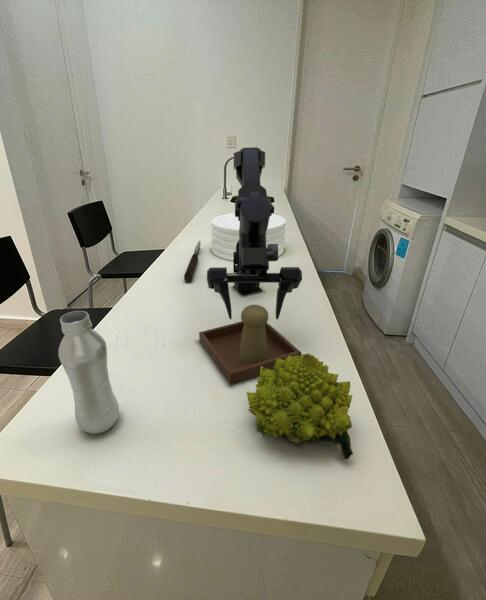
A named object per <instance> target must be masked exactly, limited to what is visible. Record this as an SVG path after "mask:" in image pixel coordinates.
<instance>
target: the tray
mask: <svg viewBox="0 0 486 600" xmlns="http://www.w3.org/2000/svg"><path fill="white" fill-rule="evenodd" d="M243 326H244V323H243V322H242V320H241V321H238V322H233V323H230V324H226V325H221V326H218V327H214V328H210V329H206V330H203V331H199V332H198V338H199V343H200V345H201V346H202V347H203V349H204V350H205V352H206V353H207V355H208V356H209V358H210V359H211V360H212V362H213V363H214V364H215V366H216V367H217V369H218V370H219V372H220V373H221V374H222V375H223V377H224V378H225V380H226V381H227V382H228V384H229V386H232V385H235V384H238V383H241V382H244V381H248V380H251V379H254V378H258V377H260V368H261V366H262V367H264V368H265V369H269V370H274V366H275V362H276V358H278V359H282V360H284V361H285V358H287V357H288V356H289V355H290V356H292V357H293V355H294V356H296V355H297V356H301V355H302V351H301V350H299V349H298V347H296V346H295V345H294V344H292V343H291V342H290V341H289V340H288V339H287V338H286V337H284V336H283V334H281V333H280V332H279V331H278V330H276V328H274V326H272V325H271V324H270V323H268V322H267V323H266V324H265V330H266V340H267V350H268V359H267V360H265V361H262V362H258V363H255V364H248V363H245V362H243V361H242V360H241V359H240V358H239V349H240V343H241V337H242V331H243Z"/></svg>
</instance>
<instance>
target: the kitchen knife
mask: <svg viewBox="0 0 486 600" xmlns="http://www.w3.org/2000/svg"><path fill="white" fill-rule="evenodd" d="M200 250H201V240H199V241H198V242H197V243H196V245H195V247H194V251H193V252H194V253H193V254H192V256H191V258H190V261H189V263H188V265H187V267H186V269H185V272H184V274H183V275H184V276H183V277H184V278H183V279H184V281H185V283H191V282H192V279H193V276H194V273H195V270H196V267H197V264H198V261H199V257H198V256H199V253H200Z"/></svg>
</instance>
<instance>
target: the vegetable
mask: <svg viewBox="0 0 486 600" xmlns="http://www.w3.org/2000/svg"><path fill="white" fill-rule="evenodd" d="M324 363H325V361H320V360H319V358H317V357H316V356H314V355H313V354H311V353H301V356H297V355H296V356H294V355H293V357H292V356H290V355H289V356H288V357H287V358H285V361H284V360H282V359H278V358H276V362H275V366H274V370H269V369H265V368H264V367H262V366H261V368H260V376H258V377H257V379H258V380H257V381H256V384H255V385H254V386H255V387H256V389H255V392H250V391H246V397H247V402H248V405H249V407H248V409H247V411H249V412H250V413H251V414H252V415H253V416H254V417H255V423H256V432H258V433H260V434H261V435H262V436H263V437H264V436H268V435H271V436H272V437H275V438H276V439H278V437H279V436H280V437H284V438H287V439H288V441H289V442H294V443H295V444H300V443H301V442H302V441H303V442H304V441H308V440H309V441H311V440H314V441H317V443H321V442H326V443H329V444H331V445H336V446H338V445H339V447H340V451H341V455H342V458H343V460H346V461H347V460H348V461H349V459H350V457H351V456H353V455H354V452H353V450H352V444H351V443H352V442H351V437H350V435H349V432H348V430H349V429H350V428H351V429H352V427H353V423H352V420H351V416H350V415H349V414H348V412H349V409H350V408H351V402H352V399H353V394H349V393H350V391H351V381H340V382H339V381H338V378H339V374H337V373H331V372H329V366H328V364H325V365H324Z"/></svg>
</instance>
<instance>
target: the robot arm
mask: <svg viewBox="0 0 486 600" xmlns="http://www.w3.org/2000/svg"><path fill="white" fill-rule="evenodd" d="M265 167H266V152H265V151H264V150H262V149H261V148H260V147H257V146H253V147H250V146H249V147H242V148H240V149H239V150H238V151H236V152H233V171H234V170H235V178H236V180H237V182H238V183H239V185H240V186H241V187H240V188H239V189H238V190H237V199H235V200H234V213H235V217H238V220H239V221H240V227H239V241H238V242H237V244H236V252H233V260H232V262H233V264H232V265H233V268H232V269H233V271H232V272H228V271H227V270H228V269H227V267H209V268H208V269H207V271H206V282H207V287H208V289H210V290H214V293H218V294H219V295H220V296H221V297H220V298H221V299H222V301H223V303H224V306H225V309H226V312H227V316H228V318H229V320H232V318H233V316H232V315H233V314H232V311H233V310H232V302H231V296H230V287H229V283H231V284H232V283H233V286H232V288H233V289H234V290H236V291H237V292H238V293H239V294H240V295H241V296H246V295H247V296H248V295H252V294H256V293H260V292H263V288H261V287H260V283H261V284H263V283H274V284H275V283H276V284H277V286H278V287H277V290H276V299H275V300H276V301H275V320H279V318H280V315H281V311H282V307H283V304H284V301H285V298H286V295H287V294H288V293H292V292H293V290H295V289H298V288H299V287H300V284H301V282H302V280H303V271H302V269H301V268H300V267H298V266H281V267H280V268H279V272H268V271H269V269H270V262H277V261H279V256H278V244H268V246H267V248H266V231H267V228H268V223H269V218H270V216H271V215H272V214H275V206H274V205H273V203H272V202H271V199H270V198H268V193H267V189H266V188H265V187H264V186H263V185H261V178H262V177H261V176H262V172H263V170H264V169H265Z"/></svg>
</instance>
